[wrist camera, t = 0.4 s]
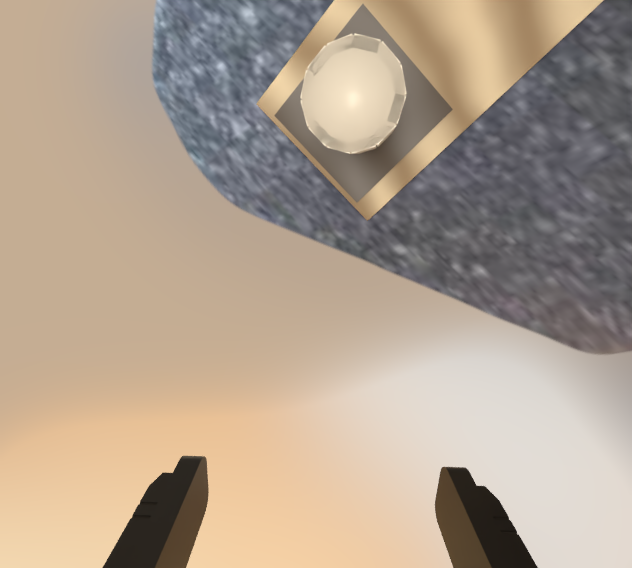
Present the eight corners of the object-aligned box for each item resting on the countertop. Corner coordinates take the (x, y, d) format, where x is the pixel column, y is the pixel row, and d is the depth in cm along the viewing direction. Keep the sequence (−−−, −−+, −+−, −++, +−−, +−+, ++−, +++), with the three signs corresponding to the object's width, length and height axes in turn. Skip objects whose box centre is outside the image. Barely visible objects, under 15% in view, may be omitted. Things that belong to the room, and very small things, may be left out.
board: (367, 218, 35) (367, 221, 33) (261, 106, 32) (254, 103, 31) (616, -15, 25) (633, -27, 23) (488, -193, 23) (498, -221, 21)
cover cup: (314, 84, 29) (289, 58, 21) (389, 57, 28) (393, 17, 19) (333, 161, 31) (317, 164, 23) (404, 140, 30) (413, 135, 21)
